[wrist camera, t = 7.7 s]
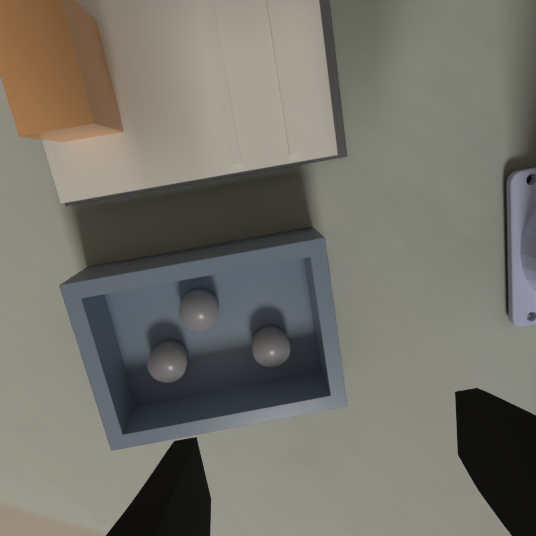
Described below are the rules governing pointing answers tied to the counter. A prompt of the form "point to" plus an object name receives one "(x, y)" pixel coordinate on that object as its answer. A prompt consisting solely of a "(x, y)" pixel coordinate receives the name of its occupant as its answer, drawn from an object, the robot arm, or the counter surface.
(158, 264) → the tub
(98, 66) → the lid
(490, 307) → the counter surface
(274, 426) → the counter surface
